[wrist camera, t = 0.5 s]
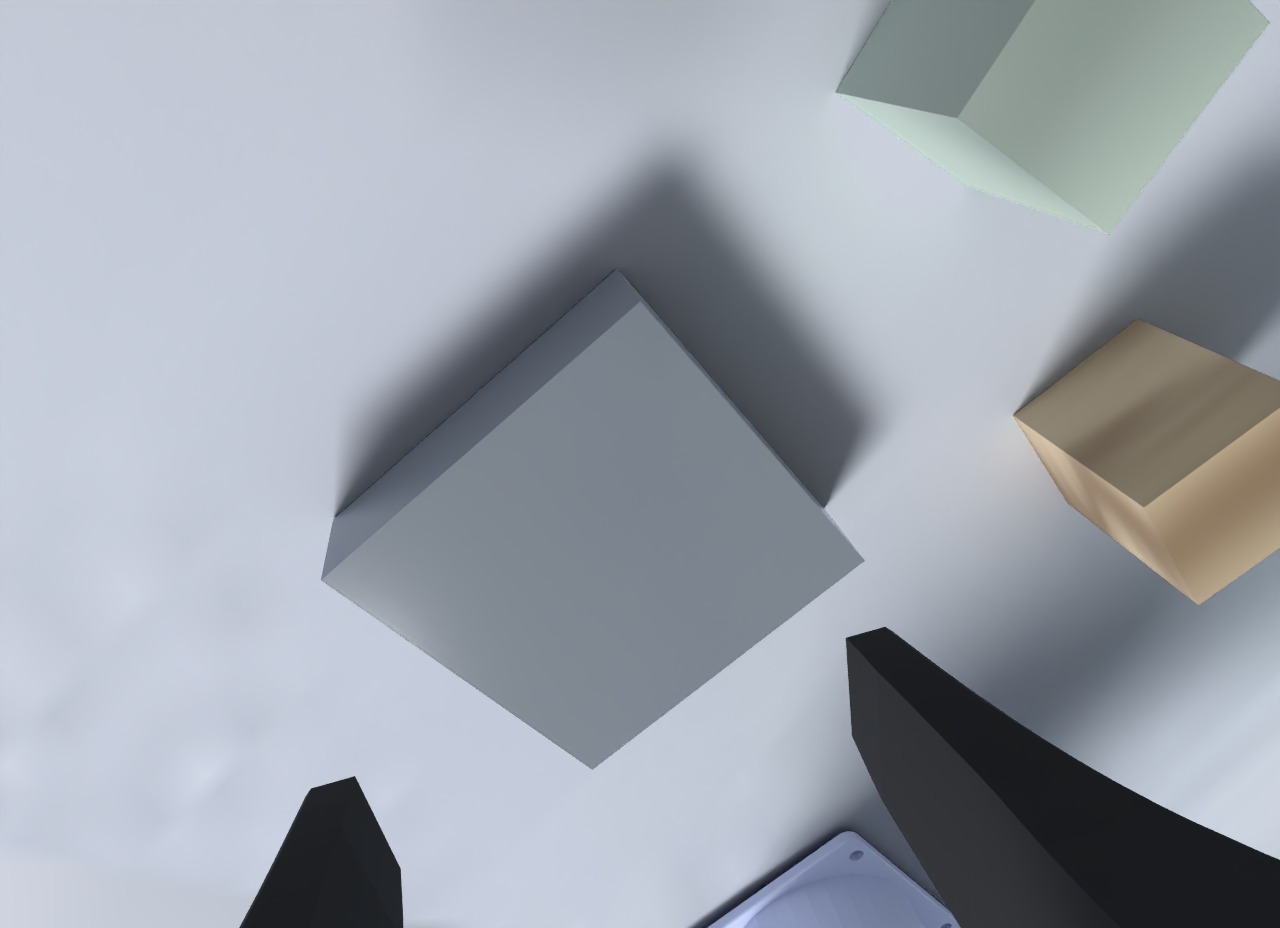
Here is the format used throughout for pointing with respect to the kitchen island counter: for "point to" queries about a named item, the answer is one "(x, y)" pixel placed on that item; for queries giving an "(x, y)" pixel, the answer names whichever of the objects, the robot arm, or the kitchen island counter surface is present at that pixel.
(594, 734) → the slate base
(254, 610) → the kitchen island counter surface
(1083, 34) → the sage block
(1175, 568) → the oak block
